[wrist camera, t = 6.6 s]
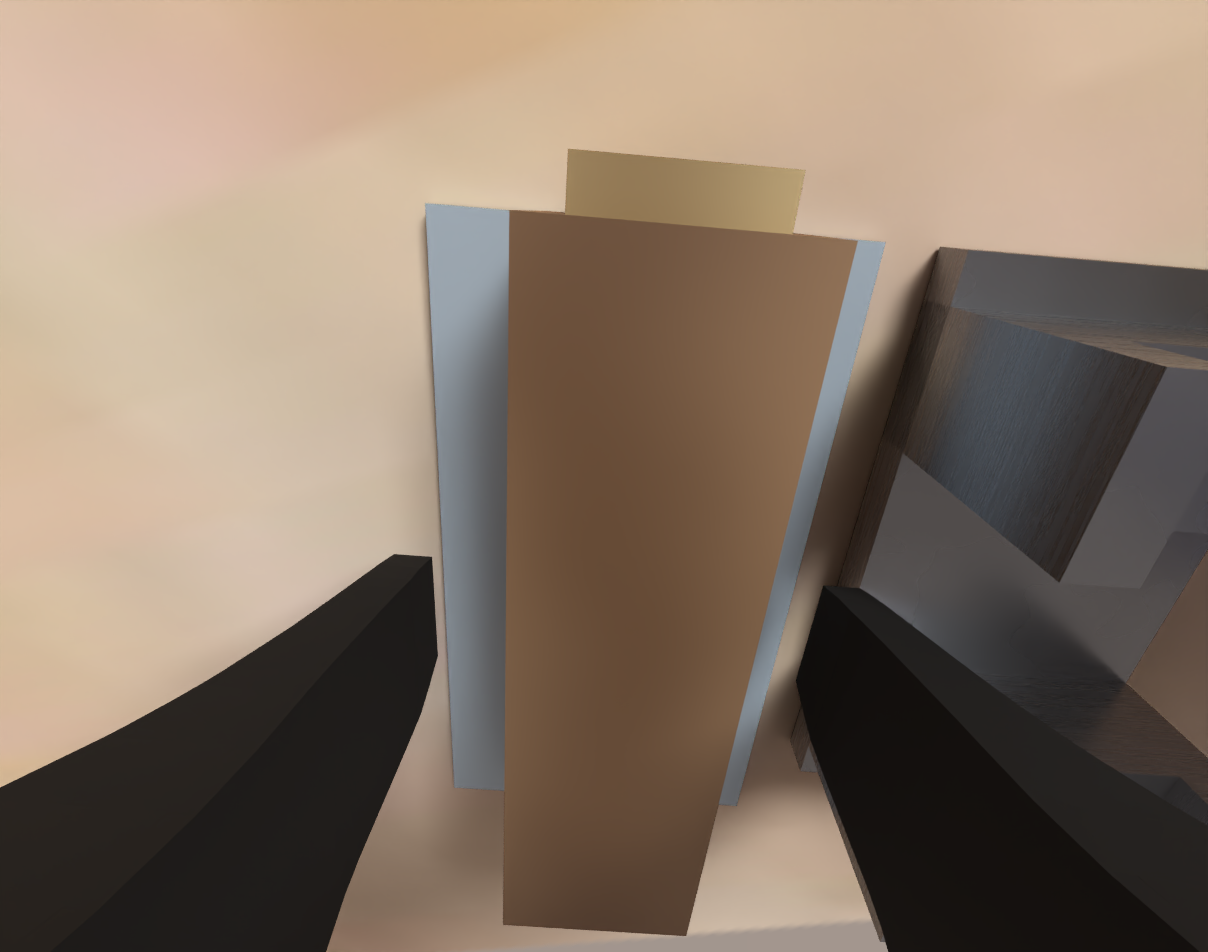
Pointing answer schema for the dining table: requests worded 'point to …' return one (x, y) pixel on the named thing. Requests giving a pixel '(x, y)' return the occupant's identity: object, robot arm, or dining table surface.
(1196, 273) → the stand
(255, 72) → the dining table surface
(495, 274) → the mat
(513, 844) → the rail
